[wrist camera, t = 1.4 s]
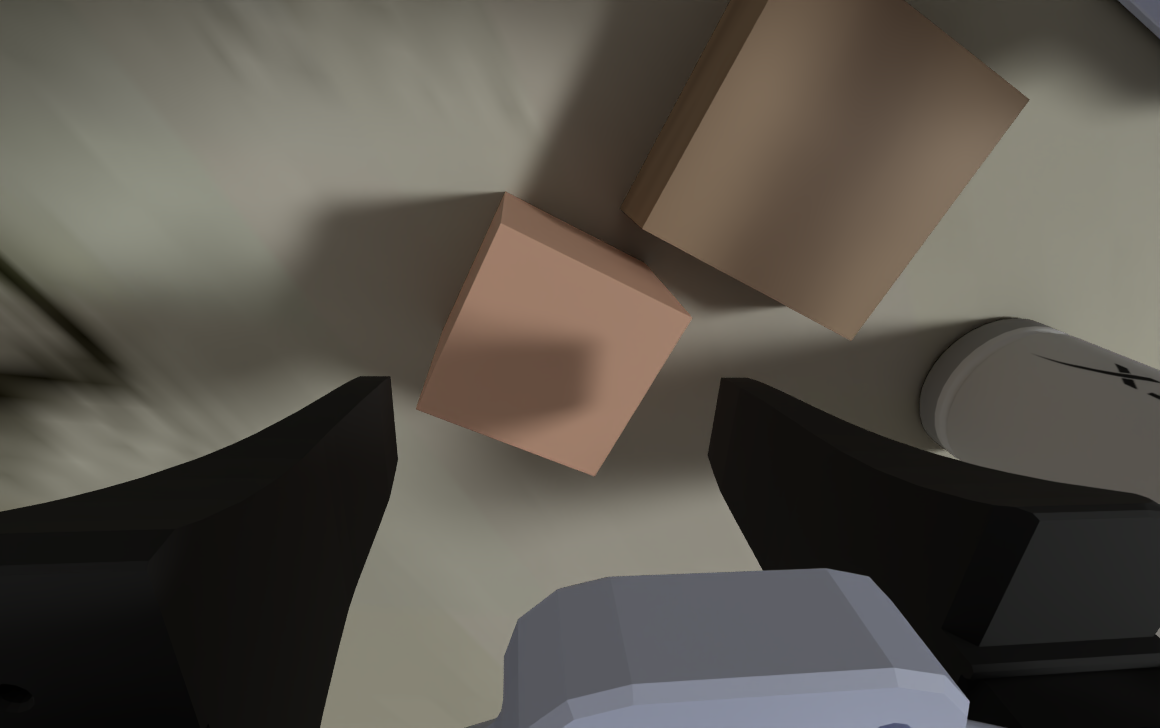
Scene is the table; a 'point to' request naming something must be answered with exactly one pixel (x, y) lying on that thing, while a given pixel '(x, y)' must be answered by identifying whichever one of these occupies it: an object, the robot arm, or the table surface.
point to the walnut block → (820, 149)
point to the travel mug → (1046, 408)
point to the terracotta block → (551, 339)
